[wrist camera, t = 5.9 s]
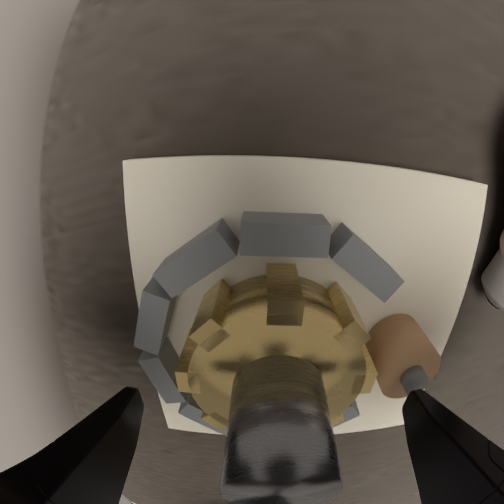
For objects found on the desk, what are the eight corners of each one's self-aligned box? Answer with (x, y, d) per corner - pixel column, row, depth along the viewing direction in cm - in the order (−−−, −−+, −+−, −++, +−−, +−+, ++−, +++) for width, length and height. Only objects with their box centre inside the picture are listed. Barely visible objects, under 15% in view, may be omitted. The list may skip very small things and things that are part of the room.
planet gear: (340, 394, 13) (367, 514, 6) (198, 392, 13) (171, 515, 7) (372, 265, 10) (467, 396, 4) (184, 260, 10) (101, 402, 4)
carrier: (400, 412, 15) (419, 461, 11) (172, 415, 15) (156, 469, 11) (474, 181, 10) (537, 201, 6) (133, 158, 10) (74, 169, 6)
